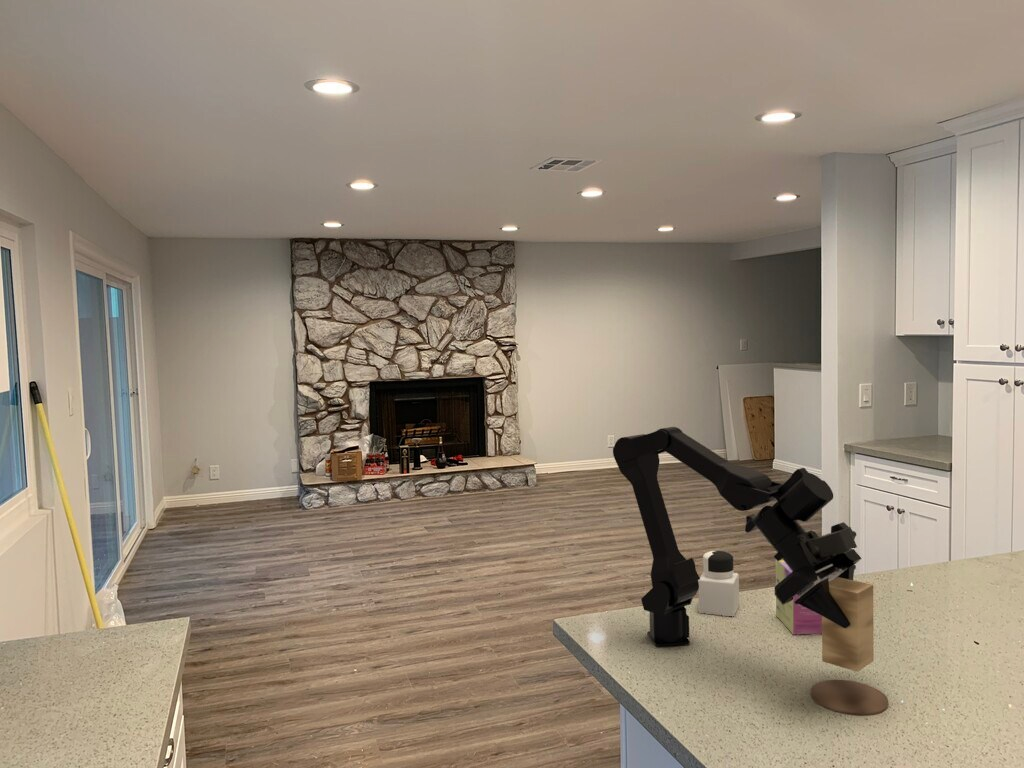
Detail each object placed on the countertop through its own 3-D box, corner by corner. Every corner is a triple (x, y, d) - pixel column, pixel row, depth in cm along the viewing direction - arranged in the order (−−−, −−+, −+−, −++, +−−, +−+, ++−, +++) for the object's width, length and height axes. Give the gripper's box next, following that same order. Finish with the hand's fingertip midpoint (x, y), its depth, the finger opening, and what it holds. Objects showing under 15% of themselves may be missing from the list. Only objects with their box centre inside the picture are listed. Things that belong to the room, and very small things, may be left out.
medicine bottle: (739, 606, 162) (738, 550, 161) (734, 617, 155) (732, 559, 155) (705, 602, 165) (704, 547, 164) (698, 613, 158) (697, 556, 158)
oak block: (822, 661, 119) (821, 585, 119) (838, 651, 123) (838, 577, 122) (857, 671, 115) (857, 593, 115) (873, 660, 119) (873, 584, 118)
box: (823, 634, 145) (823, 573, 144) (793, 635, 145) (792, 573, 144) (804, 615, 155) (803, 557, 155) (775, 616, 155) (774, 558, 155)
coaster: (832, 717, 113) (832, 714, 113) (798, 685, 124) (798, 682, 124) (903, 712, 114) (903, 709, 114) (863, 680, 125) (863, 677, 125)
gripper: (792, 519, 115) (867, 609, 107) (848, 499, 127) (919, 578, 119) (745, 560, 121) (813, 649, 113) (803, 538, 133) (868, 616, 126)
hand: (856, 621), depth 118 cm, fingers closed on oak block, 5 cm apart
